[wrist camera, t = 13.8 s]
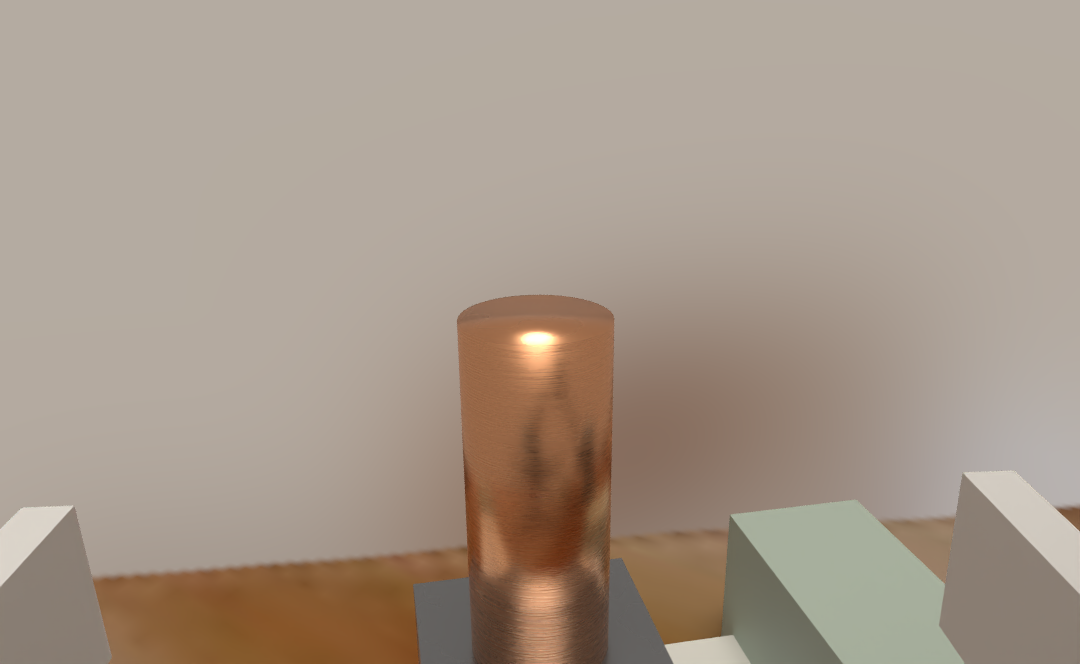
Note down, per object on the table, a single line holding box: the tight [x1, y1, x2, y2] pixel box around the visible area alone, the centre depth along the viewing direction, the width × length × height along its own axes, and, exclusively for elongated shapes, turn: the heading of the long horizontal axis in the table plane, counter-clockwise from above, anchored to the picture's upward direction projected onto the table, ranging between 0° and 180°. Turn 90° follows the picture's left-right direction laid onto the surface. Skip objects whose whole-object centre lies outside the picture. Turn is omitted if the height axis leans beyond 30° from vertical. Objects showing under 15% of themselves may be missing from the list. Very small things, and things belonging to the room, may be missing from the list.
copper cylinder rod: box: [413, 295, 673, 664], centre depth 24 cm, size 7×7×13 cm
